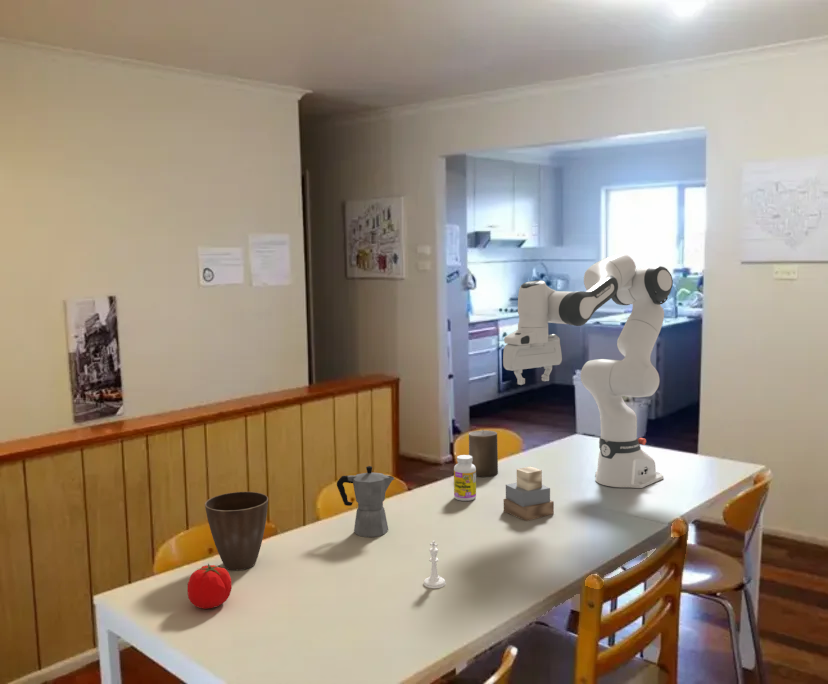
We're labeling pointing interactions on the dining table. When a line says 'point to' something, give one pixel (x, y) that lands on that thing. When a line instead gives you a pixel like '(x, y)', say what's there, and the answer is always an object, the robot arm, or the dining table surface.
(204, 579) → the tomato
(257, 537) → the plant pot
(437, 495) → the dining table surface
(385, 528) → the coffeepot
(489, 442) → the pillar candle
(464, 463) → the supplement bottle
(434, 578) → the chess piece
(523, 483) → the birch block
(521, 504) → the tower top
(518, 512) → the tower base
